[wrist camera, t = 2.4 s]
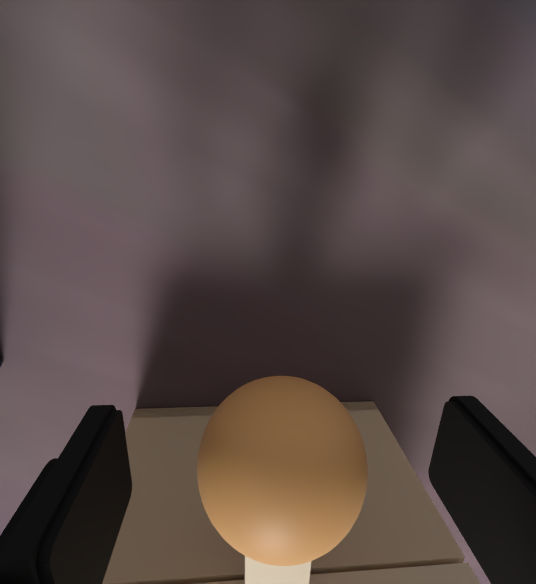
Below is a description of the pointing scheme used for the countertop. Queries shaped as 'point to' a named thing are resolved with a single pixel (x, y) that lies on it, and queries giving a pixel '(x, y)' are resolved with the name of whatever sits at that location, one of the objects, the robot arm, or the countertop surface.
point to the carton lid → (292, 485)
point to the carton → (222, 556)
